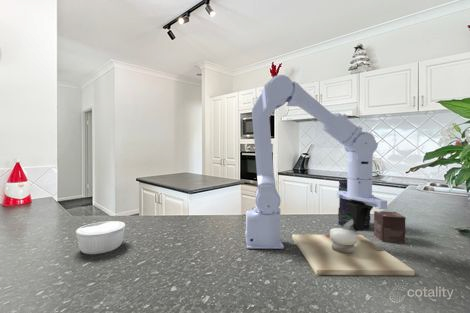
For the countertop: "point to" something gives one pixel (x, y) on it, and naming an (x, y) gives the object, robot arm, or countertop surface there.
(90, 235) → the ramekin
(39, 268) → the countertop surface
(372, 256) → the post board
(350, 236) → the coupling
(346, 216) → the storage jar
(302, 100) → the robot arm
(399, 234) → the box
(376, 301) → the countertop surface
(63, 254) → the countertop surface
